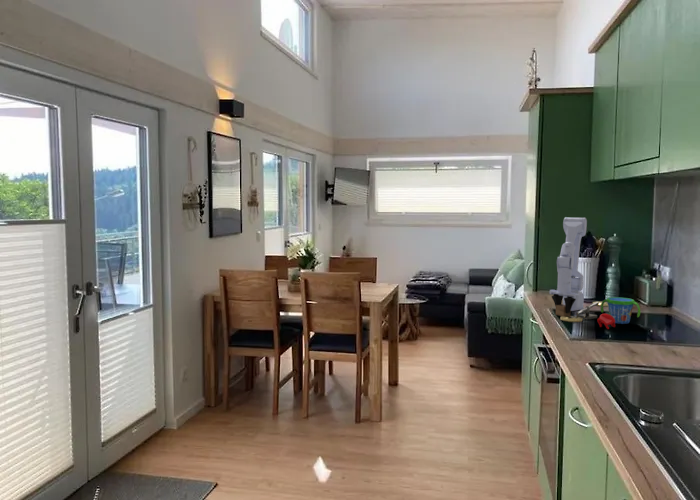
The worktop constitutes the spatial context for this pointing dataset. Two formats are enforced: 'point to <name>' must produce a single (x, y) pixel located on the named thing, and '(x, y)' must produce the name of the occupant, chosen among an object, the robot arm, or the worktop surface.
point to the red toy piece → (606, 320)
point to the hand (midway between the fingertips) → (563, 312)
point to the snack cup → (620, 309)
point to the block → (561, 310)
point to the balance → (580, 317)
